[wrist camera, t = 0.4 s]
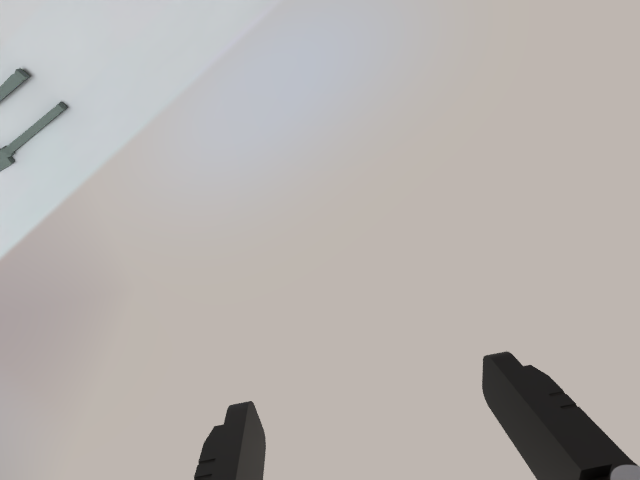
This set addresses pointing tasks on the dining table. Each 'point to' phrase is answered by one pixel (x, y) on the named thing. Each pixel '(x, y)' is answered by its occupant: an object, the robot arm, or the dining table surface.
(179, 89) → the dining table surface
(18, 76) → the cutlery set
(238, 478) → the robot arm
